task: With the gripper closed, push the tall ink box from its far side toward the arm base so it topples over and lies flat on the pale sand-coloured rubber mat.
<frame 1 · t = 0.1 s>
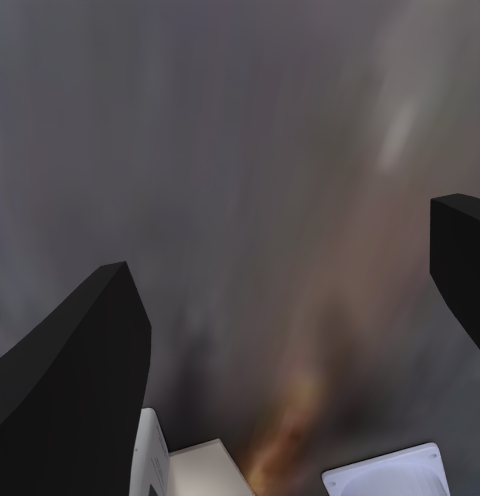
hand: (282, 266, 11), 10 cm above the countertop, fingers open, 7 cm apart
ink box: (97, 440, 29), on the countertop, touching topple mat
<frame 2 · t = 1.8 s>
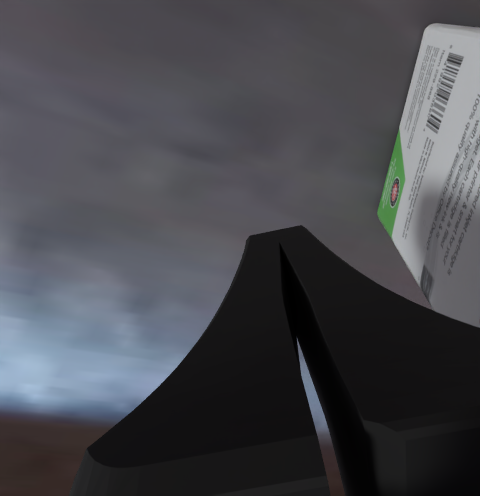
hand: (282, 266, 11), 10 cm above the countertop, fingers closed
ink box: (448, 131, 20), on the countertop, touching topple mat
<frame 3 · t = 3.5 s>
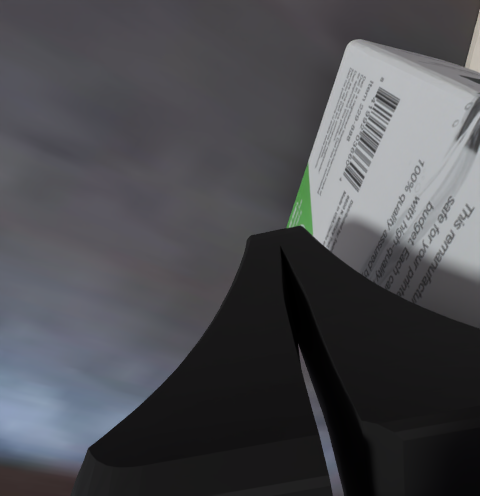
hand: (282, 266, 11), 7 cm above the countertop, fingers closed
ink box: (362, 169, 17), on the countertop, touching topple mat
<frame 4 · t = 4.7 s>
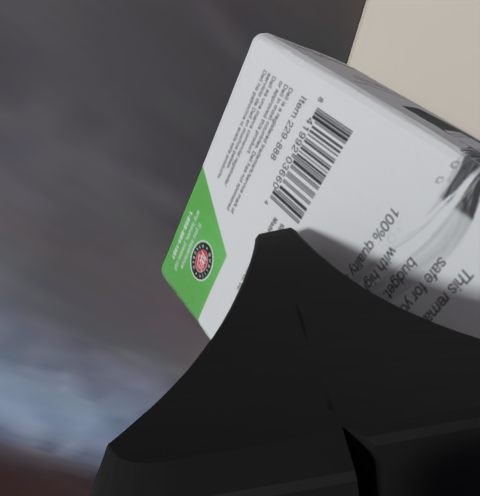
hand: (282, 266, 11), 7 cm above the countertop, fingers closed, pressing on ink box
topple mat: (472, 192, 18), on the countertop
ink box: (249, 167, 16), point 1 cm above the countertop, touching gripper, topple mat
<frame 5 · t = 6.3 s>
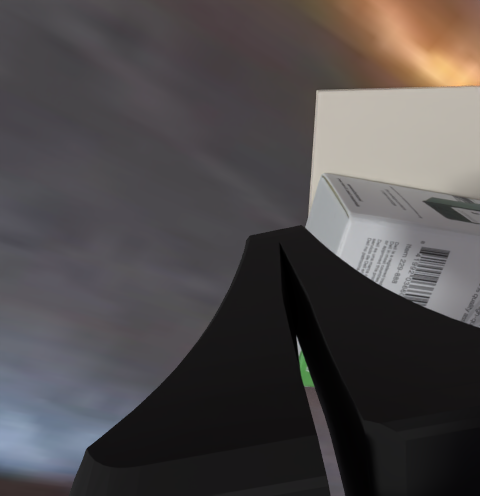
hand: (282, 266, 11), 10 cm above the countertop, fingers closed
topple mat: (436, 232, 23), on the countertop
ink box: (301, 277, 20), point 3 cm above the countertop, touching topple mat
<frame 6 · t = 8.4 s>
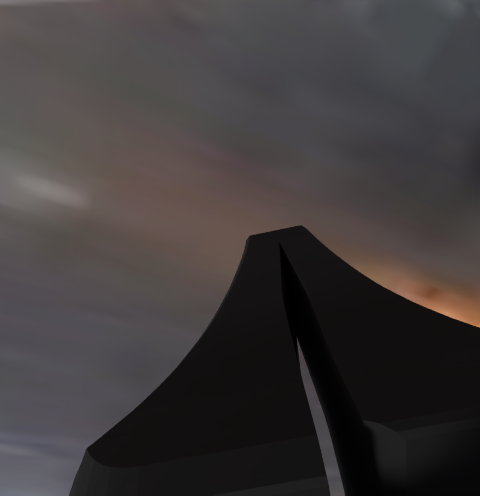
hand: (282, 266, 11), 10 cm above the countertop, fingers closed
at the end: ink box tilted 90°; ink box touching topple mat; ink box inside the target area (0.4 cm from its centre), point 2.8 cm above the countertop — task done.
